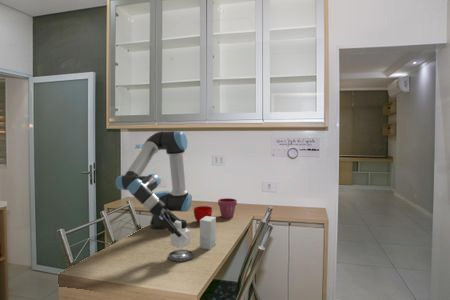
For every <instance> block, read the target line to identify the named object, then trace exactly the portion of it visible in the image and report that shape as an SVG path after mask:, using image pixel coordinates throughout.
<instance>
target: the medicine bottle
mask: <svg viewBox="0 0 450 300" xmlns="http://www.w3.org/2000/svg"><path fill="white" fill-rule="evenodd" d="M187 222H188V221H187V220H186V219H180V220H176V221H175V222H174V223H173V224H174V225H175V227H176V228H177V229H179V230H180V231H181V232H182V233H183V234H184V235H185V236H186V237H187V238H188V239H187V240H186V241H185V242H184V243H183V242H182V241H181V240H180V239H179V238H178V237H177V236H176V235H175V234H174V233H173V234H171V233H170V232H169V233H170V234H169V235H170V241H169V243H170V244H169V245H170V246H173V247H176V248H178V249H182V248H185V247H186V246H187V247H188V246H190V245H191V230H190V229H188V228H187V227H188V225H187V224H188V223H187Z"/></svg>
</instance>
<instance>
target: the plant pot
mask: <svg viewBox="0 0 450 300" xmlns="http://www.w3.org/2000/svg"><path fill="white" fill-rule="evenodd" d="M237 203H238V201H237V199H235V198H228V197H227V198H226V197H225V198H220V199H218V200H217V206H219V211H220V216H221V217H222V218H225V219H230V218H231V219H232V218H233V217H234V215H235V210H236V206H237V205H238V204H237Z"/></svg>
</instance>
